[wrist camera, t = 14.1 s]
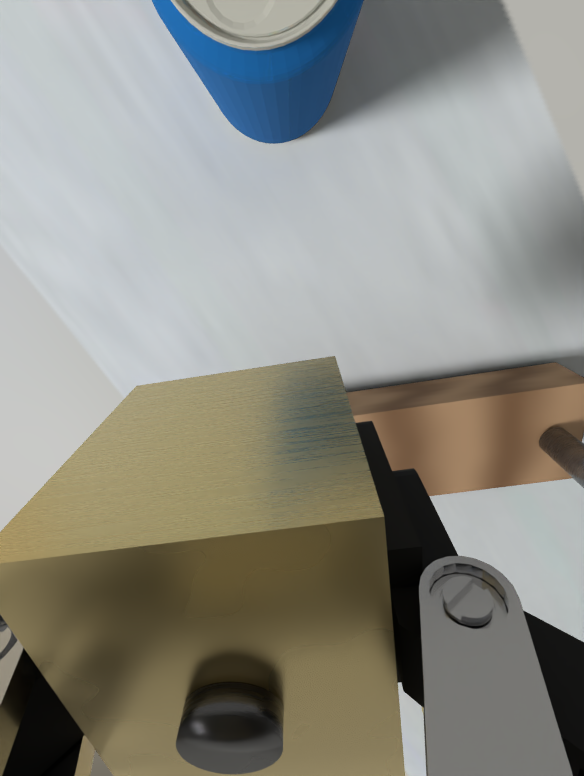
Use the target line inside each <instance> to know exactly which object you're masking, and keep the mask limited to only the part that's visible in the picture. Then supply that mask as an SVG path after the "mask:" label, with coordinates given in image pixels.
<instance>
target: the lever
mask: <svg viewBox="0 0 584 776" xmlns="http://www.w3.org/2000/svg"><path fill="white" fill-rule="evenodd" d="M539 446H540V448H541V449H542V450H543V451H544V452H545V453H546V454H547V455H548V456H550V457H551V458H552V459H553V460H554V461H555V462H556V463H557V464H558V465H559V466H560V467H561V468H563V469H564V470H565V471H566V472H567V473H568V474H569V475H570V476H571V477H572V478H573V479H574V480H576V481H577V482H578V483H579V484H580V485H581V486H582V487H583V488H584V443H582V442H581V441H580V440H578V439H577V438H576V437H575V436H573V435H572V434H571V433H569V432H568V431H567V430H565V429H564V428H561V427H554V428H551V429H549V430H547V431H545V432H544V433H543V434H542V435H541V437H540V439H539Z"/></svg>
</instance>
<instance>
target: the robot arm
mask: <svg viewBox="0 0 584 776" xmlns="http://www.w3.org/2000/svg"><path fill="white" fill-rule="evenodd" d="M356 426H357V430H358V433H359V436H360V439H361V443H362V446H363V449H364V452H365V456H366V459H367V462H368V465H369V469H370V472H371V475H372V478H373V482H374V485H375V488H376V491H377V495H378V498H379V501H380V504H381V508H382V511H383V514H384V519H385V532H386V544H387V557H388V569H389V582H390V594H391V607H392V619H393V632H394V644H395V657H396V670H397V682H402V686H403V690H404V692H405V693H406V694H408V695H409V696H410V697H411V698H413V699H414V700H415V701H416V702H417V703H419V704H420V705H421V706H422V707H423V713H424V734H425V755H426V776H584V642H582V641H580V640H578V639H576V638H574V637H573V636H571V635H569V634H567V633H565V632H563V631H561V630H559V629H557V628H556V627H554V626H552V625H550V624H548V623H546V622H544V621H542V620H540V619H538V618H537V617H535V616H533V615H531V614H529V613H527V612H525V611H523V609H522V605H521V602H520V599H519V597H518V595H517V593H516V591H515V589H514V587H513V585H512V584H511V583H510V582H509V581H508V579H507V578H506V577H505V576H504V575H503V574H502V573H501V572H499V571H498V570H496V569H495V568H494V567H492V566H491V565H489V564H487V563H484V562H482V561H480V560H477V559H474V558H469V557H464V556H458V554H457V552H456V550H455V548H454V546H453V544H452V542H451V540H450V538H449V536H448V534H447V532H446V530H445V528H444V526H443V524H442V522H441V520H440V518H439V516H438V514H437V512H436V510H435V507H434V505H433V503H432V501H431V499H430V497H429V495H428V493H427V491H426V489H425V487H424V485H423V483H422V481H421V479H420V477H419V475H418V473H417V471H416V470H415V469H414V468H412V469H404V470H397V471H392V469H391V467H390V464H389V462H388V459H387V457H386V454H385V452H384V449H383V447H382V444H381V441H380V439H379V436H378V434H377V431H376V429H375V426H374V424H373V422H372V421H365V422H358V423H356ZM94 753H95V749H94V747H93V746H92V744H91V743H90V741H89V740H88V739H87V737H86V736H85V734H84V733H83V732H82V730H81V729H80V727H79V726H78V724H77V723H76V722H75V720H74V719H73V717H72V716H71V714H70V713H69V712H68V710H67V709H66V707H65V706H64V704H63V703H62V702H61V700H60V699H59V697H58V696H57V694H56V693H55V692H54V690H53V689H52V687H51V686H50V685H49V683H48V682H47V680H46V679H45V677H44V676H43V675H42V673H41V672H40V670H39V669H38V667H37V666H36V665H35V663H34V662H33V660H32V659H31V657H30V656H29V655H28V653H27V652H26V650H25V649H24V647H23V646H22V645H21V643H20V642H19V640H18V639H17V637H16V636H15V635H14V633H13V632H12V630H11V629H10V628H9V626H8V625H7V623H6V622H5V620H4V619H3V618H2V616H1V615H0V776H90V774H91V769H92V764H93V758H94Z"/></svg>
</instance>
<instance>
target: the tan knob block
mask: <svg viewBox="0 0 584 776" xmlns="http://www.w3.org/2000/svg"><path fill="white" fill-rule="evenodd" d="M0 615H1V616H2V618H3V619H4V620H5V622H6V623H7V625H8V626H9V628H10V629H11V630H12V632H13V633H14V635H15V636H16V637H17V639H18V640H19V642H20V643H21V645H22V646H23V647H24V649H25V650H26V652H27V653H28V655H29V656H30V657H31V659H32V660H33V662H34V663H35V665H36V666H37V667H38V669H39V670H40V672H41V673H42V675H43V676H44V677H45V679H46V680H47V682H48V683H49V685H50V686H51V687H52V689H53V690H54V692H55V693H56V694H57V696H58V697H59V699H60V700H61V702H62V703H63V704H64V706H65V707H66V709H67V710H68V712H69V713H70V714H71V716H72V717H73V719H74V720H75V722H76V723H77V724H78V726H79V727H80V729H81V730H82V732H83V733H84V734H85V736H86V737H87V739H88V740H89V741H90V743H91V744H92V746H93V747H94V749H95V750H96V751H97V753H98V754H99V756H100V757H101V759H102V760H103V761H104V763H105V764H106V765H107V767H108V769H109V770H110V771H111V773H112V774H113V776H405V770H404V757H403V745H402V732H401V720H400V707H399V695H398V682H397V670H396V657H395V644H394V632H393V619H392V607H391V594H390V582H389V569H388V557H387V544H386V532H385V519H384V514H383V511H382V508H381V504H380V501H379V498H378V495H377V491H376V488H375V485H374V482H373V478H372V475H371V472H370V469H369V465H368V462H367V459H366V456H365V452H364V449H363V446H362V443H361V439H360V436H359V433H358V430H357V426H356V423H355V420H354V417H353V413H352V410H351V407H350V404H349V400H348V397H347V394H346V391H345V387H344V384H343V381H342V378H341V374H340V371H339V368H338V365H337V361H336V358H335V356H332V357H326V358H319V359H312V360H306V361H299V362H292V363H286V364H279V365H273V366H266V367H259V368H253V369H246V370H239V371H233V372H226V373H219V374H213V375H206V376H199V377H193V378H186V379H180V380H173V381H166V382H160V383H153V384H146V385H140V386H136V387H135V388H134V389H133V390H132V391H131V392H130V394H129V395H128V396H127V397H126V398H125V399H124V400H123V401H122V402H121V403H120V404H119V405H118V407H116V409H115V410H114V411H113V412H112V413H111V414H110V415H109V416H108V417H107V418H106V419H105V420H104V422H102V424H101V425H100V426H99V427H98V428H97V429H96V430H95V431H94V432H93V433H92V434H91V435H90V437H88V439H87V440H86V441H85V442H84V443H83V444H82V445H81V446H80V447H79V448H78V449H77V450H76V451H75V453H74V454H73V455H72V456H71V457H70V458H69V459H68V460H67V461H66V462H65V463H64V464H63V465H62V467H60V469H59V470H58V471H57V472H56V473H55V474H54V475H53V476H52V477H51V478H50V479H49V480H48V482H46V484H45V485H44V486H43V487H42V488H41V489H40V490H39V491H38V492H37V493H36V494H35V495H34V496H33V498H32V499H31V500H30V501H29V502H28V503H27V504H26V505H25V506H24V507H23V508H22V509H21V510H20V511H19V512H18V514H17V515H16V516H15V517H14V518H13V519H12V520H11V521H10V522H9V523H8V524H7V525H6V526H5V527H4V529H3V530H2V531H1V532H0Z"/></svg>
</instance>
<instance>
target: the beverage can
mask: <svg viewBox="0 0 584 776" xmlns="http://www.w3.org/2000/svg"><path fill="white" fill-rule="evenodd" d="M363 1H364V0H152V2H153V4H154V6H155V8H156V10H157V12H158V14H159V16H160V17H161V19H162V20H163V22H164V24H165V25H166V27H167V28H168V30H169V32H170V33H171V35H172V36H173V38H174V39H175V41H176V42H177V44H178V45H179V47H180V48H181V50H182V51H183V53H184V55H185V56H186V58H187V59H188V61H189V62H190V64H191V65H192V67H193V68H194V70H195V71H196V73H197V74H198V76H199V77H200V79H201V80H202V82H203V84H204V85H205V87H206V88H207V90H208V91H209V93H210V94H211V96H212V97H213V99H214V100H215V102H216V103H217V105H218V106H219V108H220V110H221V111H222V113H223V114H224V116H225V117H226V118H227V119H228V121H229V122H230V123H231V124H232V125H233V126H234V127H235V128H236V129H237V130H239V131H240V132H241V133H243V134H244V135H246V136H248V137H249V138H251V139H254V140H257V141H260V142H264V143H274V144H275V143H284V142H288V141H291V140H294V139H296V138H298V137H300V136H301V135H303V134H305V133H306V132H307V131H309V130H310V129H311V128H312V127H313V126H314V125H315V124H316V123H317V122H318V121H319V119H320V118H321V116H322V115H323V114H324V112H325V110H326V108H327V107H328V104H329V102H330V100H331V97H332V94H333V91H334V88H335V85H336V82H337V79H338V76H339V73H340V70H341V67H342V64H343V61H344V58H345V55H346V52H347V49H348V46H349V43H350V40H351V37H352V34H353V31H354V28H355V25H356V22H357V19H358V16H359V13H360V10H361V7H362V4H363Z"/></svg>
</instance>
